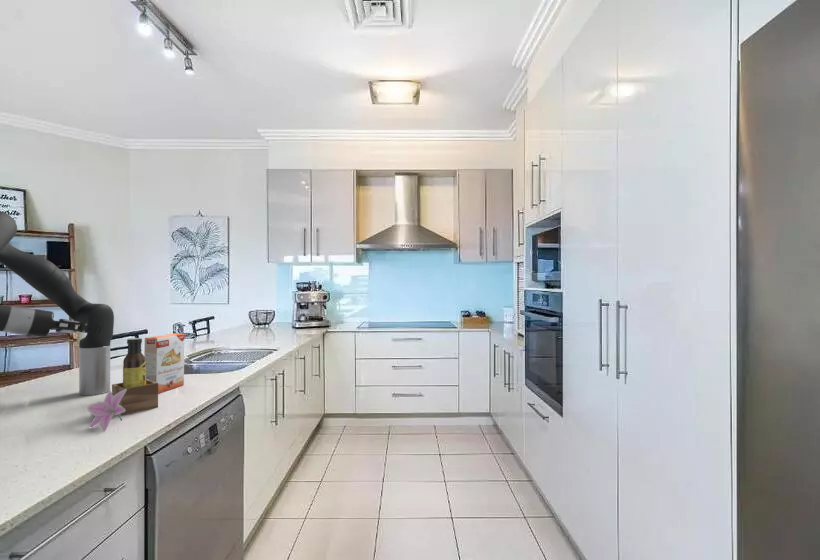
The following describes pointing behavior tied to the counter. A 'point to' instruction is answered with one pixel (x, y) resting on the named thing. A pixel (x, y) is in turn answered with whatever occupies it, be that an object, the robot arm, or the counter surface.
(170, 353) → the cracker box
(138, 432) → the counter surface
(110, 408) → the lily
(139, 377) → the sauce bottle
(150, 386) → the bottle holder
